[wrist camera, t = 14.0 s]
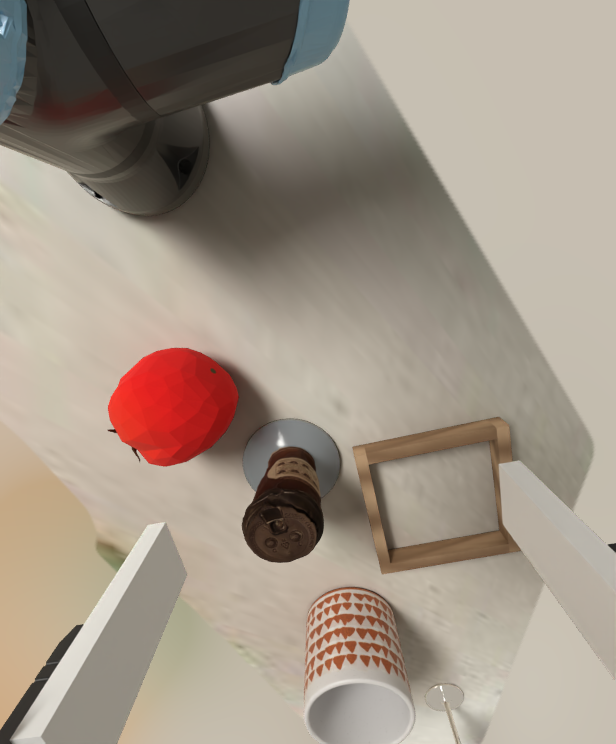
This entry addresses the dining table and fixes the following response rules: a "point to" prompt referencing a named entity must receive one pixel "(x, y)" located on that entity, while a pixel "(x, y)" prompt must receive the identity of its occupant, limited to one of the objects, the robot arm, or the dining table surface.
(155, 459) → the tomato
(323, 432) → the flat grey disc
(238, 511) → the dining table surface
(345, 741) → the planter
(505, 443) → the square wooden frame
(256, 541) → the coffee cup
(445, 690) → the wineglass
